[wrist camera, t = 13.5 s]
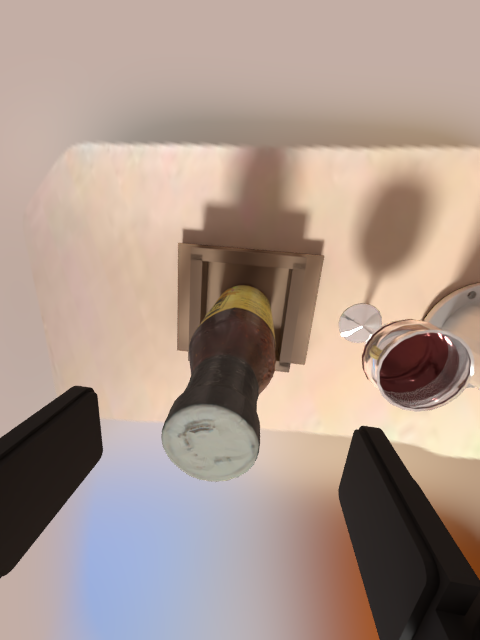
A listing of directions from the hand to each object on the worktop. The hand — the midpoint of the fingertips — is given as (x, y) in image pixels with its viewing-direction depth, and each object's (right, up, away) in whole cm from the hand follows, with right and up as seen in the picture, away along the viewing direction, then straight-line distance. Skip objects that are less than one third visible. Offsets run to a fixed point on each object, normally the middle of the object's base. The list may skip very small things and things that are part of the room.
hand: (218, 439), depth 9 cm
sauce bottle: (+1, +5, +20) cm, 21 cm away
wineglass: (+15, +4, +21) cm, 26 cm away
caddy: (+1, +6, +21) cm, 22 cm away
